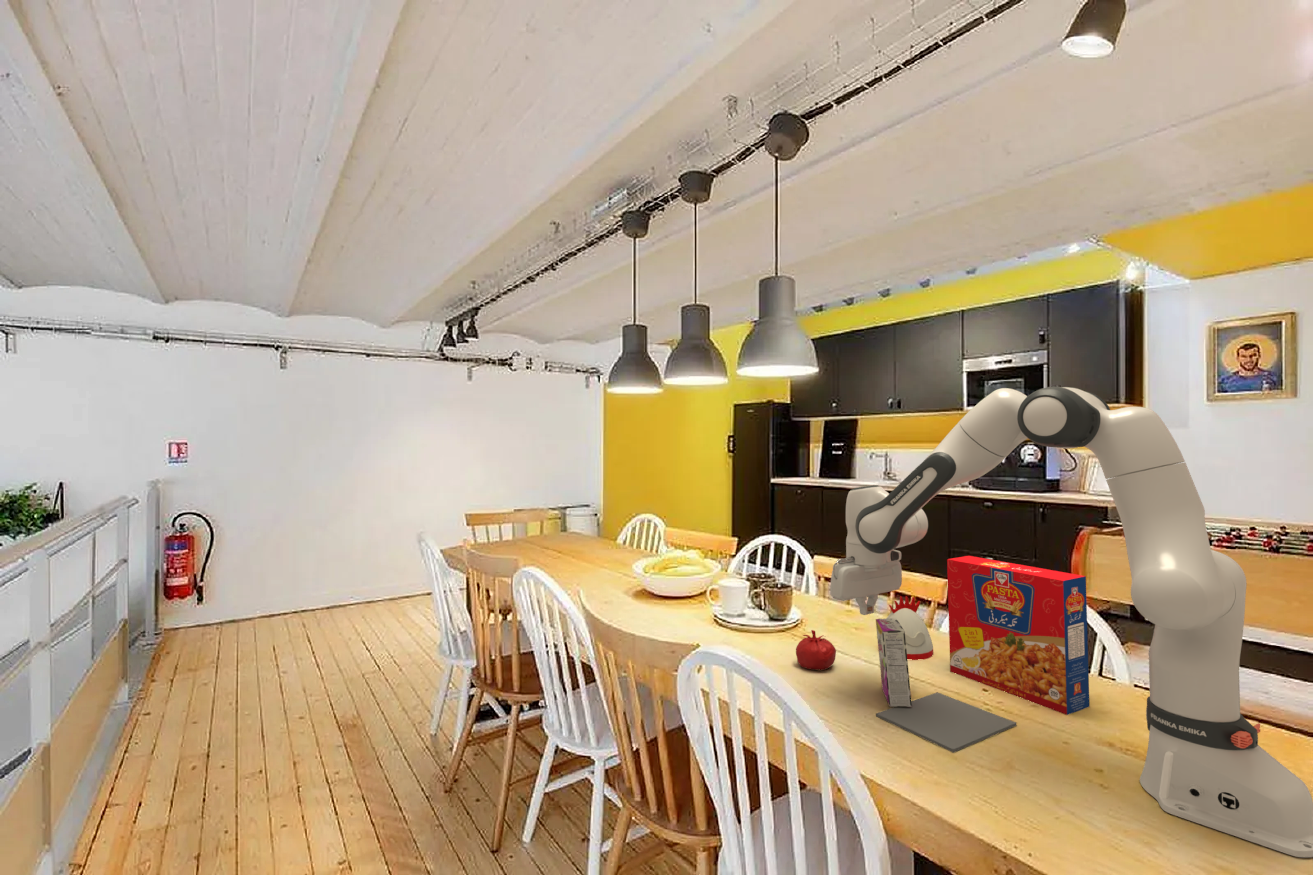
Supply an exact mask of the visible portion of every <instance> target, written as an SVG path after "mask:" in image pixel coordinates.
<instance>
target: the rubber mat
mask: <svg viewBox="0 0 1313 875" xmlns="http://www.w3.org/2000/svg"><path fill="white" fill-rule="evenodd" d="M911 703H912V707H889V708H887V709H885V710H882V711H879V712H876V713H875V717H877V718H879V719H881V720H884V721H885V722H887V723H888V724H889V723H890V724H892V725H893V726H895V727H898V728H900V729H902V730H904V731H906V732H909V733H911V734H912V735H915V736H917V737H919V738H922V739H924V740H926V741H928V742H930V743H932V744H935V745H936V746H938V747H941V748H943V749H945V750H947V751H949V752H951V753H952V754H953V753H956V752H958V751H960V750H963V749H966V748H967V747H970V746H972V745H975V744H977V743H980V742H981V741H984V740H987V739H988V738H991V737H993V736H995V735H998V734H1000V733H1003V732H1006V731H1007V730H1009V729H1012V728H1015V727H1017V722H1016V721H1014V720H1011V719H1008V718H1005V717H1002V716H1000V715H998V714H995V713H992V712H991V711H990V712H989V711H987V710H985V709H982V708H979V707H976V706H974V705H971V704H969V703H967V702H964V701H962V700H959V699H956V698H954V697H951V696H948V695H945V694H943V693H940V692H938V691H937V692H935V693H930V694H928V695H925V696H923V697H919V698H917V699H913V700H911Z"/></svg>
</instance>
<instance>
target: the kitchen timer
mask: <svg viewBox="0 0 1313 875" xmlns="http://www.w3.org/2000/svg"><path fill="white" fill-rule="evenodd" d="M904 600H905V601H904ZM893 602H894V605H895V608H893V606H892V605H890V604H888V605H889V608H890V610H891V612H890V613H889V614H888V615H887V617H886V618H885V619H897V620H898V622H899V623H900V625H901V626H902V628H903V629H904V631H905V641H906V650H907V659H912V660H911V661H919V660H918V659H923V660H926V659H927V660H928V659H930V658H932V657H933V656H932V655H934V646H933V640H932V638H931V635H930V632H929V629H928V627H927V626H928V624H927V623H926V622H925V621H924V619H922V618H921V616H920V615H919V614H918V613H917V612H918V609H919V608H920V604H921V601H920V600H918V601H917V602H916V598H915V597H914V596H912V597H911V600H910V601H909V597H908V596H907V595H905V599H904V598H903V596H901V595H900V596H899V601H897V600H894V601H893ZM898 602H899V603H898Z"/></svg>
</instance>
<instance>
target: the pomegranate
mask: <svg viewBox="0 0 1313 875" xmlns="http://www.w3.org/2000/svg"><path fill="white" fill-rule="evenodd" d="M810 632H811V634H812V637H811V636H810V635H808V634H802V636H803V639H801V640H800V641H799V642H798V644H797V645H796V647H795V656H796V660H797V663H798V665H799V666H800V667H802V668H804V669H808V670H811V671H812V670H815V671H825V670H827V669H829V668H831V666H833V664H834V663H835V661H836V655H837V654H836V653H837V650H836V647H835V645H833V643H832V642H831V641H829V640H828V639H826V638H823V635H821V636H818V637H817V636H816V635H817V634H816V631H815V630H814V629H811V631H810Z"/></svg>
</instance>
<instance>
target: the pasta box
mask: <svg viewBox="0 0 1313 875" xmlns="http://www.w3.org/2000/svg"><path fill="white" fill-rule="evenodd" d="M946 562H947V564H946V565H947V566H946V568H947V569H946V570H947V571H946V572H947V573H946V574H947V597H948V598H947V603H948V606H947V607H948V637H949V672H950V673H953V674H955V673H956V674H955V675H958V676H961V677H964V678H966V679H968V680H972V681H974V682H977V683H979V682H980V684H983V685H985V686H988V687H991V688H994V689H995V690H998V691H1001V692H1004V691H1005V692H1004V693H1006V692H1007V694H1009V695H1012V696H1014V697H1017V696H1018V697H1017V698H1020V697H1021V698H1020V699H1022V698H1023V700H1026V701H1028V700H1029V701H1028V702H1030V701H1031V703H1033V702H1034V704H1036V705H1039V706H1041V705H1042V707H1044V708H1047V709H1050V710H1053V711H1055V712H1058V713H1059V714H1060V713H1061V714H1063V715H1066V716H1069V715H1071V714H1074V713H1076V712H1079V711H1082V710H1084V709H1088V708H1090V679H1089V677H1090V676H1089V675H1090V674H1089V646H1088V645H1089V642H1088V640H1089V639H1088V638H1089V637H1088V611H1087V610H1088V608H1087V606H1088V605H1087V604H1088V603H1087V577H1086V575H1081V574H1075V573H1069V572H1063V571H1058V570H1053V569H1052V570H1051V569H1047V568H1041V567H1036V566H1029V565H1024V564H1018V563H1012V562H1008V561H1007V562H1006V561H1001V560H994V559H989V558H983V557H978V556H973V555H964V556H959V557H953V558H948V559H946Z"/></svg>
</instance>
